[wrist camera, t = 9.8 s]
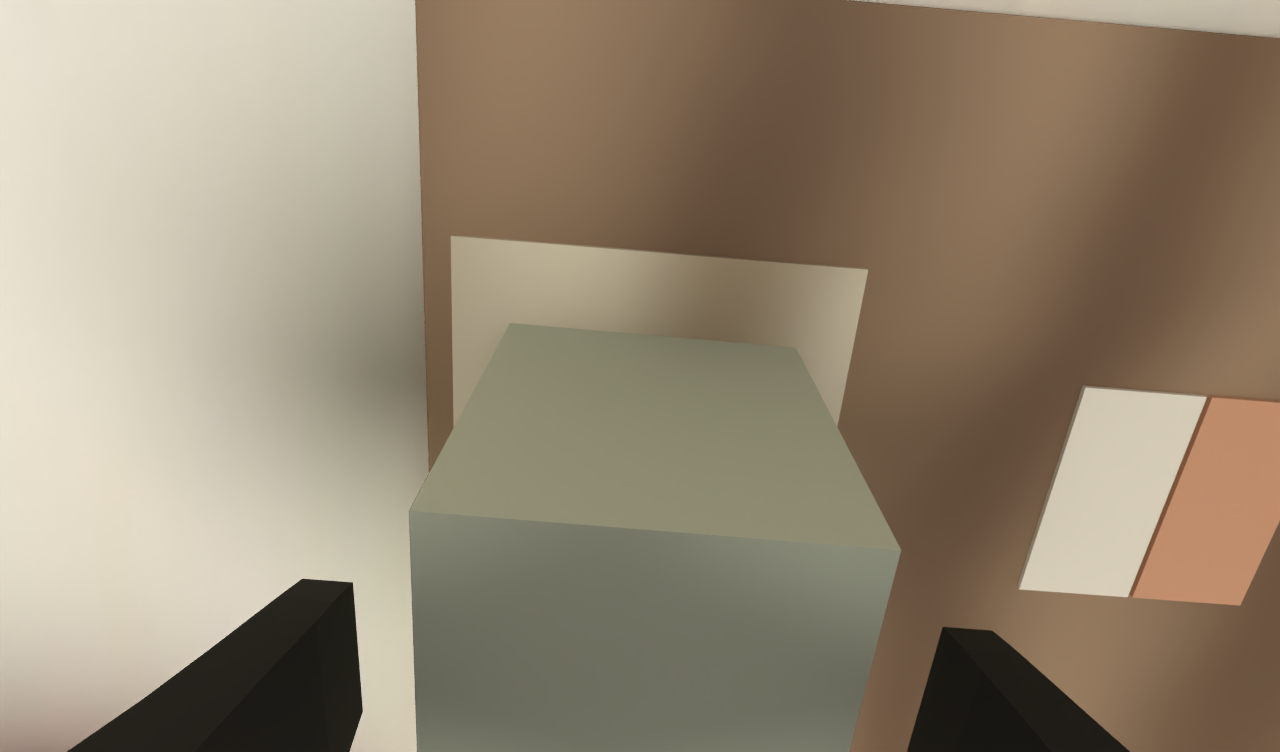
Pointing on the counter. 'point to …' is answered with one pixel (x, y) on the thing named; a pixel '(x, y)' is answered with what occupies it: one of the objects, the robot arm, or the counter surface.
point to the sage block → (644, 554)
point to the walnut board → (893, 275)
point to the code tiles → (1159, 497)
